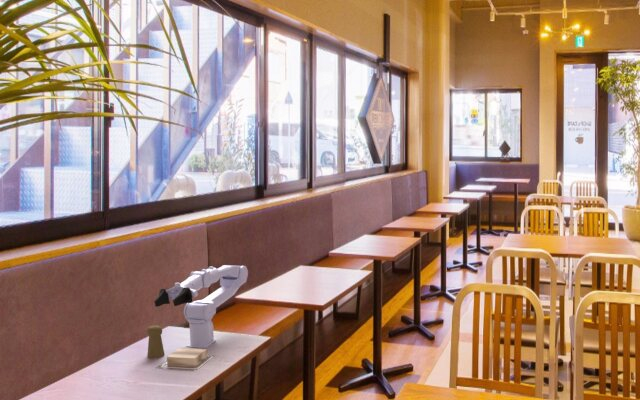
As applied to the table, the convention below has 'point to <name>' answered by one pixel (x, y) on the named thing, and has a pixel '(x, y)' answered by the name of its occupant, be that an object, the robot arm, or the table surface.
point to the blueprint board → (164, 366)
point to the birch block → (187, 357)
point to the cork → (155, 342)
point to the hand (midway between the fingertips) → (165, 303)
